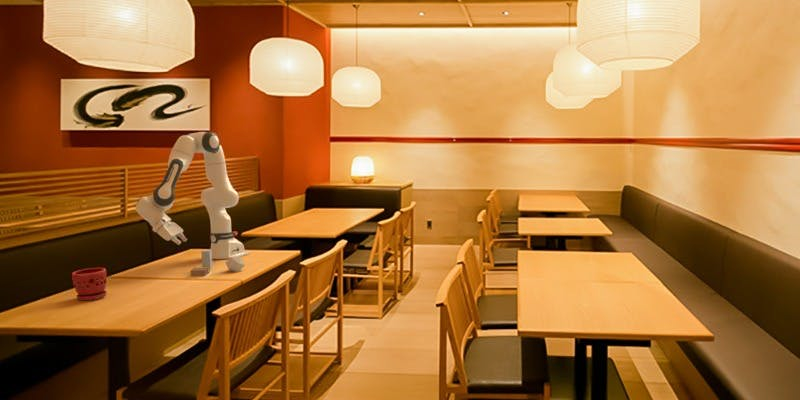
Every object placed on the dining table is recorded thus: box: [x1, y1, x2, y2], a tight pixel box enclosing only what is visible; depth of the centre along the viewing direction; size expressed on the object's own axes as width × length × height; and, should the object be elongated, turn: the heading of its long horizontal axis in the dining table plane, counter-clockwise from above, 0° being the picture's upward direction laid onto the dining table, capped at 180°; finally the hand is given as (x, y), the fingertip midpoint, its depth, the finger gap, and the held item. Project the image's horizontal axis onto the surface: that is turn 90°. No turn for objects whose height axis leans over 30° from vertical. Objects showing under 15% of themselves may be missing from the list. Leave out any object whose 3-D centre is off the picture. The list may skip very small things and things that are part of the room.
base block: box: [190, 266, 211, 276], centre depth 323 cm, size 7×7×3 cm
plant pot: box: [71, 267, 108, 301], centre depth 280 cm, size 13×13×12 cm
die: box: [225, 256, 246, 273], centre depth 331 cm, size 8×9×10 cm
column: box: [201, 249, 213, 271], centre depth 336 cm, size 4×4×10 cm
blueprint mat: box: [188, 272, 212, 278], centre depth 324 cm, size 14×12×1 cm
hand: (183, 242), depth 335 cm, fingers open, 8 cm apart
